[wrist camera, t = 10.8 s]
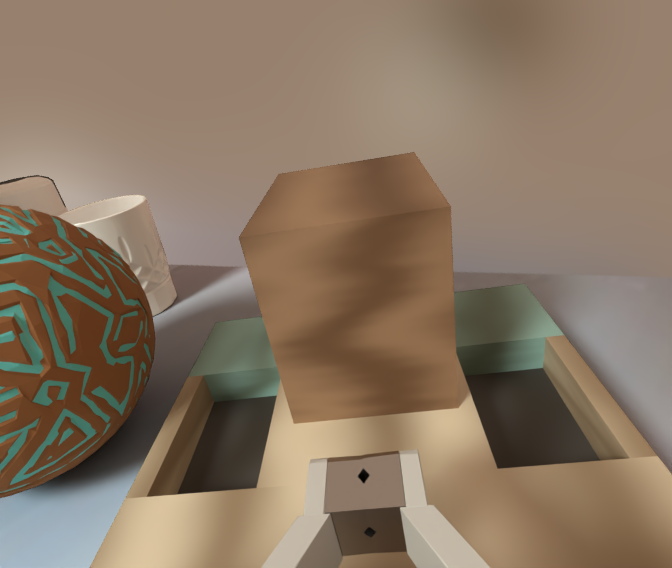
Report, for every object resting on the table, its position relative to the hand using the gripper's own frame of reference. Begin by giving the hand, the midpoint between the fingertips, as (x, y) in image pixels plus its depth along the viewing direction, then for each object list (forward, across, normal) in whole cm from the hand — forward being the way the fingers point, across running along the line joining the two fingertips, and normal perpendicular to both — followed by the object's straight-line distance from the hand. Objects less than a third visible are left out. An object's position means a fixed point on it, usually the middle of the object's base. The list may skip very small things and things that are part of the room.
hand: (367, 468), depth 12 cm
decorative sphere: (+10, +19, +8) cm, 23 cm away
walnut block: (+12, 0, +5) cm, 13 cm away
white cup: (+27, +22, +8) cm, 36 cm away
